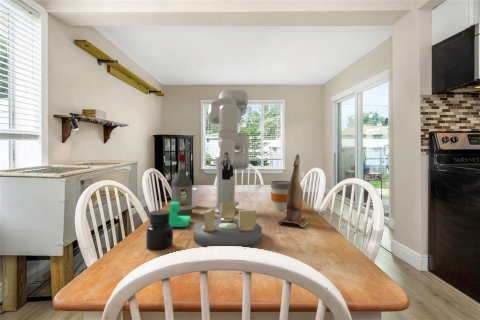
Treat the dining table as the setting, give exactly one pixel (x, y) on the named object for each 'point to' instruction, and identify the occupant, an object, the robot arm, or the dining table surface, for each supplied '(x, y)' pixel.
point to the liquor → (182, 188)
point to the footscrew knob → (227, 212)
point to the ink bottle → (159, 231)
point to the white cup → (194, 197)
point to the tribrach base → (228, 230)
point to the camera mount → (177, 220)
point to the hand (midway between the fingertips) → (227, 178)
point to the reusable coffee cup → (279, 194)
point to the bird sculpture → (294, 198)
